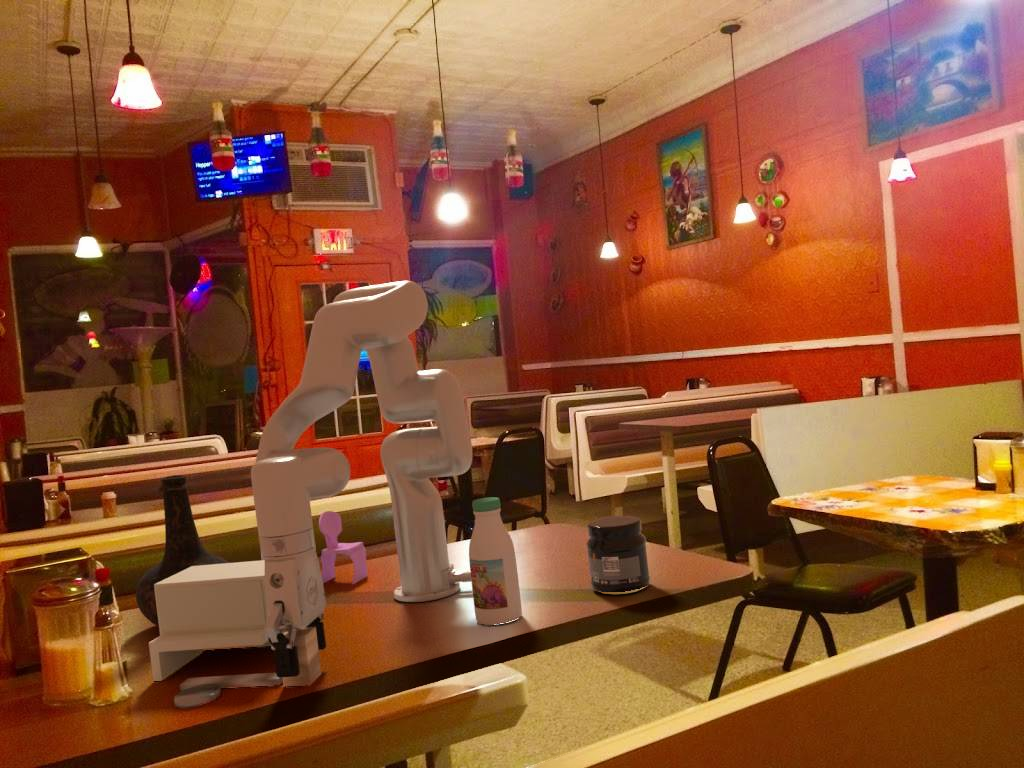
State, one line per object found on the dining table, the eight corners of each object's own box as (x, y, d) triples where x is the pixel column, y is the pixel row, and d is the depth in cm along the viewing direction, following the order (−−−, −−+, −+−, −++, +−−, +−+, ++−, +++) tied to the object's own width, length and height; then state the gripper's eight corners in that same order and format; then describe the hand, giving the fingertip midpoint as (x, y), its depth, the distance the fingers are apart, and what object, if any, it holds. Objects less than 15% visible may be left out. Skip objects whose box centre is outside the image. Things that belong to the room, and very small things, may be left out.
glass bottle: (229, 602, 164) (213, 466, 164) (251, 619, 149) (234, 470, 149) (134, 625, 155) (116, 481, 154) (148, 646, 139) (128, 486, 139)
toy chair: (353, 585, 166) (344, 514, 166) (316, 586, 169) (308, 516, 169) (372, 574, 174) (364, 506, 174) (336, 575, 177) (328, 508, 177)
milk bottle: (500, 609, 138) (487, 494, 137) (532, 615, 132) (518, 495, 132) (466, 622, 132) (452, 502, 132) (498, 629, 127) (484, 504, 127)
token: (227, 690, 114) (226, 682, 114) (209, 708, 108) (208, 699, 108) (187, 694, 115) (186, 686, 115) (166, 712, 109) (165, 703, 109)
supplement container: (635, 576, 149) (628, 512, 149) (661, 589, 139) (653, 521, 139) (582, 586, 146) (575, 521, 146) (604, 601, 136) (597, 530, 136)
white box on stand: (303, 641, 132) (293, 557, 132) (266, 675, 118) (254, 581, 118) (201, 648, 134) (192, 566, 134) (153, 682, 121) (142, 590, 120)
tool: (321, 674, 116) (315, 626, 116) (310, 686, 112) (304, 636, 112) (192, 682, 118) (187, 635, 118) (177, 693, 114) (171, 645, 114)
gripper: (287, 557, 105) (303, 686, 105) (334, 528, 122) (348, 638, 122) (233, 562, 106) (250, 689, 106) (287, 532, 123) (301, 642, 123)
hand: (302, 662), depth 114 cm, fingers open, 9 cm apart
